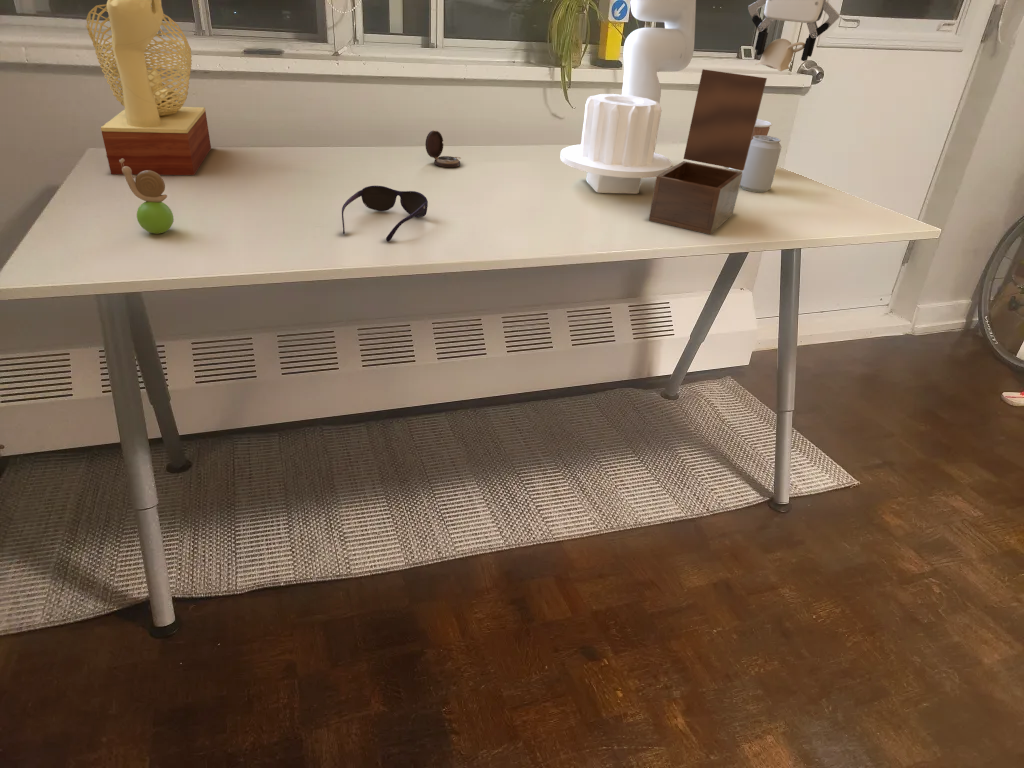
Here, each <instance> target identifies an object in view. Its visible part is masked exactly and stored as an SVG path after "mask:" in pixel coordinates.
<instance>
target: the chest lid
mask: <svg viewBox="0 0 1024 768" xmlns="http://www.w3.org/2000/svg"><path fill="white" fill-rule="evenodd" d="M767 79H768V78H767V77H761V76H754V75H749V74H739V73H731V72H727V71H719V70H712V69H702V70H701V75H700V79H699V84H698V89H697V94H696V98H695V103H694V106H693V112H692V117H691V121H690V125H689V131H688V136H687V139H686V140H687V141H686V145H685V150H684V155H683V160H685V161H686V160H687V161H693V162H698V163H702V164H707V165H714V166H718V167H724V168H727V169H729V168H733V169H738V170H744V167H745V163H746V159H747V155H748V151H749V147H750V143H751V140H752V136H753V132H754V128H755V124H756V120H757V119H758V115H759V112H760V107H761V103H762V99H763V96H764V91H765V87H766V84H767V81H768V80H767Z"/></svg>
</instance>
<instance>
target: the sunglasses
mask: <svg viewBox="0 0 1024 768" xmlns="http://www.w3.org/2000/svg"><path fill="white" fill-rule="evenodd" d="M360 197H361V201H362V203H363V205H364V206H365V207H366V208H368V209H370V210H373V211H377V212H386V211H389V210H391V209H392V208H394V206H395V204H396V202H397V197H399V200H400V202H399V203H400V205H401V207H402V209H403V210H404V211H405V212H406V213H407V214H408V216H405V217H404V218H402V219H401V220H400V221H399V222H397V223H396V224H395V226H393V228H392V229H391V230H390V232H389V233H388V234H387V236H386V238H385V240H386V242H390V241H391V240H392V238H393V237H394V235H395V234H396V232H397V231H398V229H399V228H400V227H401V226H402V225H403V224H405V223H406V222H408V221H409V220H411V219H413V218H414V217H415V218H423V217H425V216H426V215H427V213H428V207H429V202H428V198H427V197H426V196H425V195H424V194H423V193H421V192H419V191H415V190H406V191H405V190H397V189H394V188H390V187H387V186H384V185H369V186H365V187H363V188H362V189H360V190H358V191H357V192H355V193H354V194H353V195H351V196H350V197H349V198H348V199H347V200H346V201H345V202H344V203H343V205H342V207H341V223H342V234H343V235H345V233H346V232H345V218H344V212H345V209H346V207H347V206H349V205H350V204H352V202H354V201H355V200H357V199H358V198H360Z"/></svg>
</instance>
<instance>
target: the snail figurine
mask: <svg viewBox="0 0 1024 768" xmlns="http://www.w3.org/2000/svg"><path fill="white" fill-rule="evenodd" d="M124 161H125V160H124V159H123V158H122V159H121V160H119V162H120V163H121V166H122V163H123V162H124ZM123 166H124V164H123ZM122 173H123V174H122V175H124V178H125V180H126V183H127V185H128V188H129V189H130V191H131V192H132V193H133V194H134V196H136V197H137V198H138V199H140V200H142V201H144V202H142V203H141V204H140V205H139V207H138V208H137V211H136V219H137V222H138V224H139V227H141V228H142V229H143V230H144V231H146V232H148V233H151V234H154V235H155V234H163V233H166V232H167V231H169V230H170V229H171V227H172V226H173V223H174V214H173V211H172V209H171V208H170V206H168V205H167V204H166V203H164V202H163V201H165V200H166V199H167V198H168V195H167V194H163V193H164V192H165V190H166V183H165V181H164V178H163V177H162V175H159V174H158V173H156V172H154V171H150V170H145V171H142V172H140V173H139V174H136V177H135V178H134V176H133V174H132V170H131V168H130V167H128V166H124V167H122Z"/></svg>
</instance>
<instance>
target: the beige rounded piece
mask: <svg viewBox="0 0 1024 768" xmlns="http://www.w3.org/2000/svg"><path fill="white" fill-rule="evenodd" d="M797 46H800V47H798V48H795V47H797ZM804 46H805V42H802V41H798V42H794V43H792V42H791V41H790V40H788V39H786V38H777V39H774V40H772V41H771V42H770V43H769V44H768V45H767V46H766V47H765V49H764V52H763V54H762V55H761V57H760V59H759V61H758V62H756V63H755V66H757V65H762V66H766V67H768V68H770V69H774V70H777V71H778V72H783V71H786V70H789V69H790V67H789V65H790V64H791V62H792V61H793V57H794V54H795V53H798V52H801V51H803V50H804Z"/></svg>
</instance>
